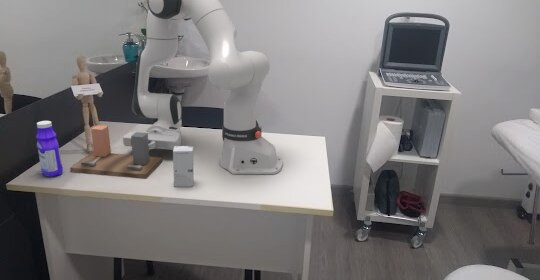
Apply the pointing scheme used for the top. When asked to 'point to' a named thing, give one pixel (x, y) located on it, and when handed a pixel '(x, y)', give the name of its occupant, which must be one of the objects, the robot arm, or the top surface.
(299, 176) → the top surface
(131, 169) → the wooden board
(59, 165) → the bottle
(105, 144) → the plug terracotta
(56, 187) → the top surface
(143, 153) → the grey tall block
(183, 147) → the skincare box
